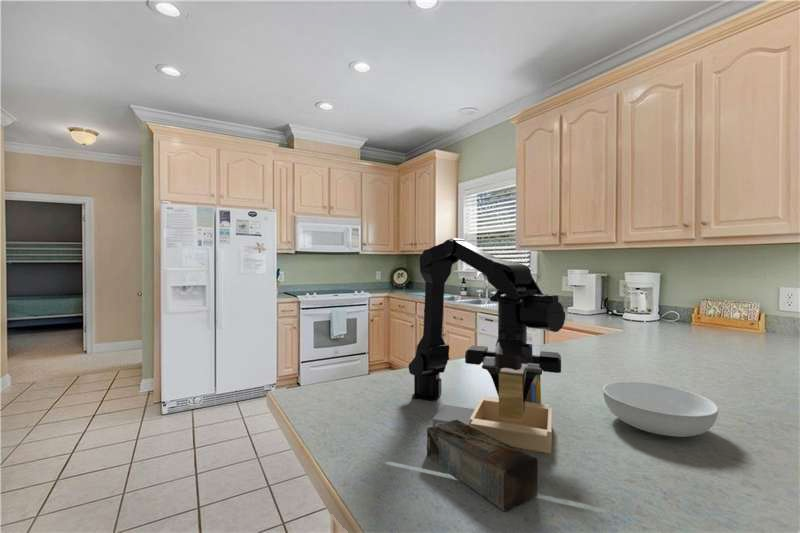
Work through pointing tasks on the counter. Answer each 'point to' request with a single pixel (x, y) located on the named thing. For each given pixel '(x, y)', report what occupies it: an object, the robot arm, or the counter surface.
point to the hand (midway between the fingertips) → (512, 399)
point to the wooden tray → (515, 425)
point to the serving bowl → (660, 408)
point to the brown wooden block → (511, 394)
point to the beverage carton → (484, 463)
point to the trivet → (453, 414)
